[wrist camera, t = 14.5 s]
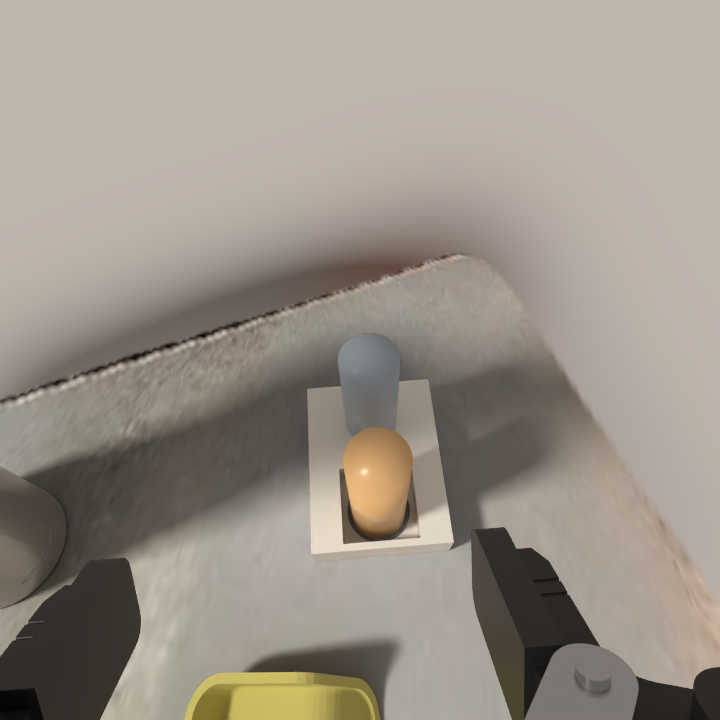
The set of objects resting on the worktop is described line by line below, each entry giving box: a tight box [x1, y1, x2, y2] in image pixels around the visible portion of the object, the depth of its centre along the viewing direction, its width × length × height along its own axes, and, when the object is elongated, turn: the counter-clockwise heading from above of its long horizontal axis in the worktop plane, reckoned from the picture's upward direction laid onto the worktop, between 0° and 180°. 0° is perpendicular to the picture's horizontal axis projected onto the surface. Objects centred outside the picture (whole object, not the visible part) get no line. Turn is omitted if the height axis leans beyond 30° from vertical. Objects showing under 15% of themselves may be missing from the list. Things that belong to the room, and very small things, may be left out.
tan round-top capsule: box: [343, 427, 413, 539], centre depth 35 cm, size 4×4×12 cm
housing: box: [307, 333, 454, 561], centre depth 38 cm, size 13×10×13 cm
